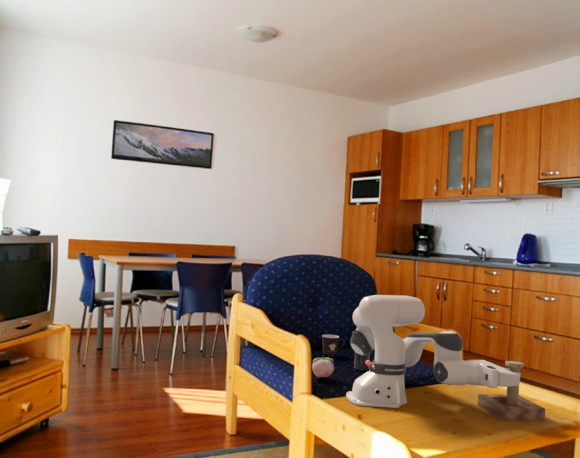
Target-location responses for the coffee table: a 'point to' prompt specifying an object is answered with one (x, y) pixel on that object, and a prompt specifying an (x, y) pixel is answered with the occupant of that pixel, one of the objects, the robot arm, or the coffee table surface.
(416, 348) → the robot arm
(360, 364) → the supplement bottle
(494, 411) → the collar
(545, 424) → the coffee table surface
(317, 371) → the decorative fruit
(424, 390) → the coffee table surface
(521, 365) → the beige bolt
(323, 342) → the coffee mug
